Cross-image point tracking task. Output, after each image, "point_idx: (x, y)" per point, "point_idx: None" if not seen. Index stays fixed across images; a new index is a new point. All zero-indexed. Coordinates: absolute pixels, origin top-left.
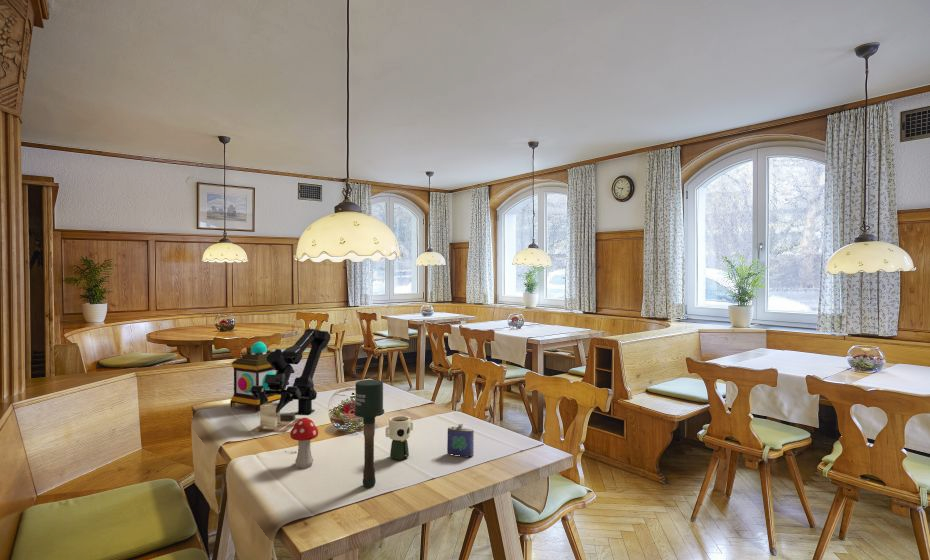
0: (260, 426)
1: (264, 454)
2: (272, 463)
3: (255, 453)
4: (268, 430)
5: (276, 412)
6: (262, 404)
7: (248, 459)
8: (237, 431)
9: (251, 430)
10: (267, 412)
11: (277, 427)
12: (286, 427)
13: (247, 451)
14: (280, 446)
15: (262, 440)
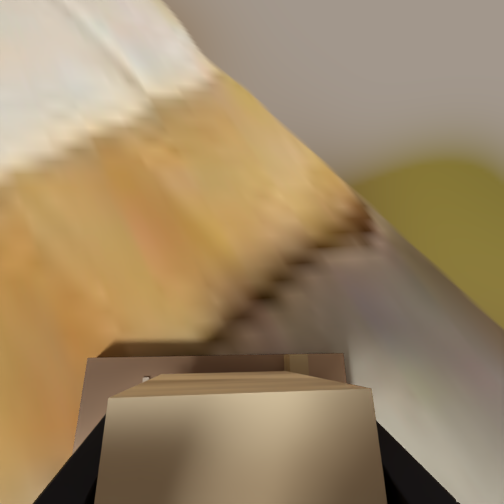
0: None
1: (109, 95)
2: (37, 17)
3: (156, 106)
4: None
5: None
6: (373, 455)
7: (156, 55)
8: (439, 406)
9: (342, 377)
10: (240, 381)
11: None
12: None
13: (204, 126)
14: (62, 183)
15: (205, 264)
